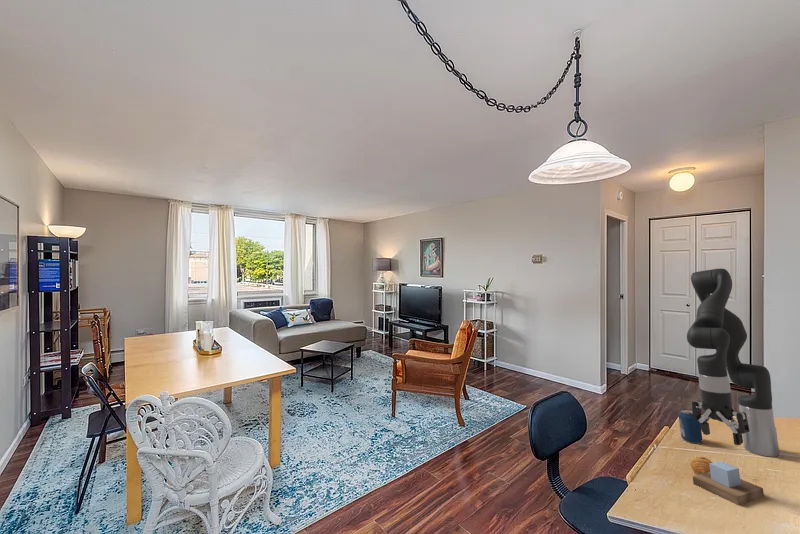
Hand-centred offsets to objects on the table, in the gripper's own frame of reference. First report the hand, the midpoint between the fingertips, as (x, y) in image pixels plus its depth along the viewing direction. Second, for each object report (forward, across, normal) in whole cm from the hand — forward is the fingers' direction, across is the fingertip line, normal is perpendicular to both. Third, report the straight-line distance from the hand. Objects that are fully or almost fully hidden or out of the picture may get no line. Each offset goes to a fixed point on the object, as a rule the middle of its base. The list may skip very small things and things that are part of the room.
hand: (721, 439), depth 109 cm
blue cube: (+13, 0, 0) cm, 13 cm away
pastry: (+16, +10, -6) cm, 20 cm away
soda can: (+16, +28, -27) cm, 42 cm away
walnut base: (+16, 0, 0) cm, 16 cm away
